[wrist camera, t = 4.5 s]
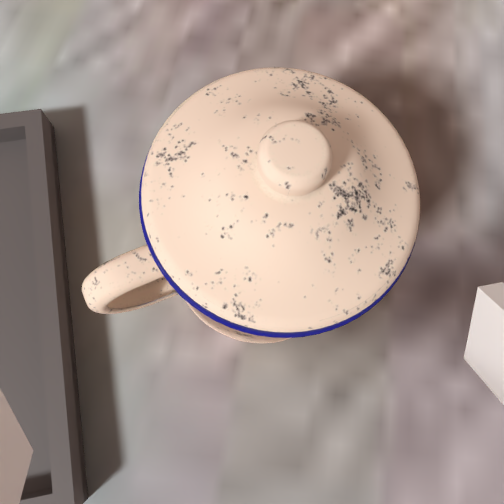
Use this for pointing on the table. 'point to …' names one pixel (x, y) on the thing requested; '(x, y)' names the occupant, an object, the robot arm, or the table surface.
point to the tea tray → (38, 312)
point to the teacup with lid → (269, 209)
